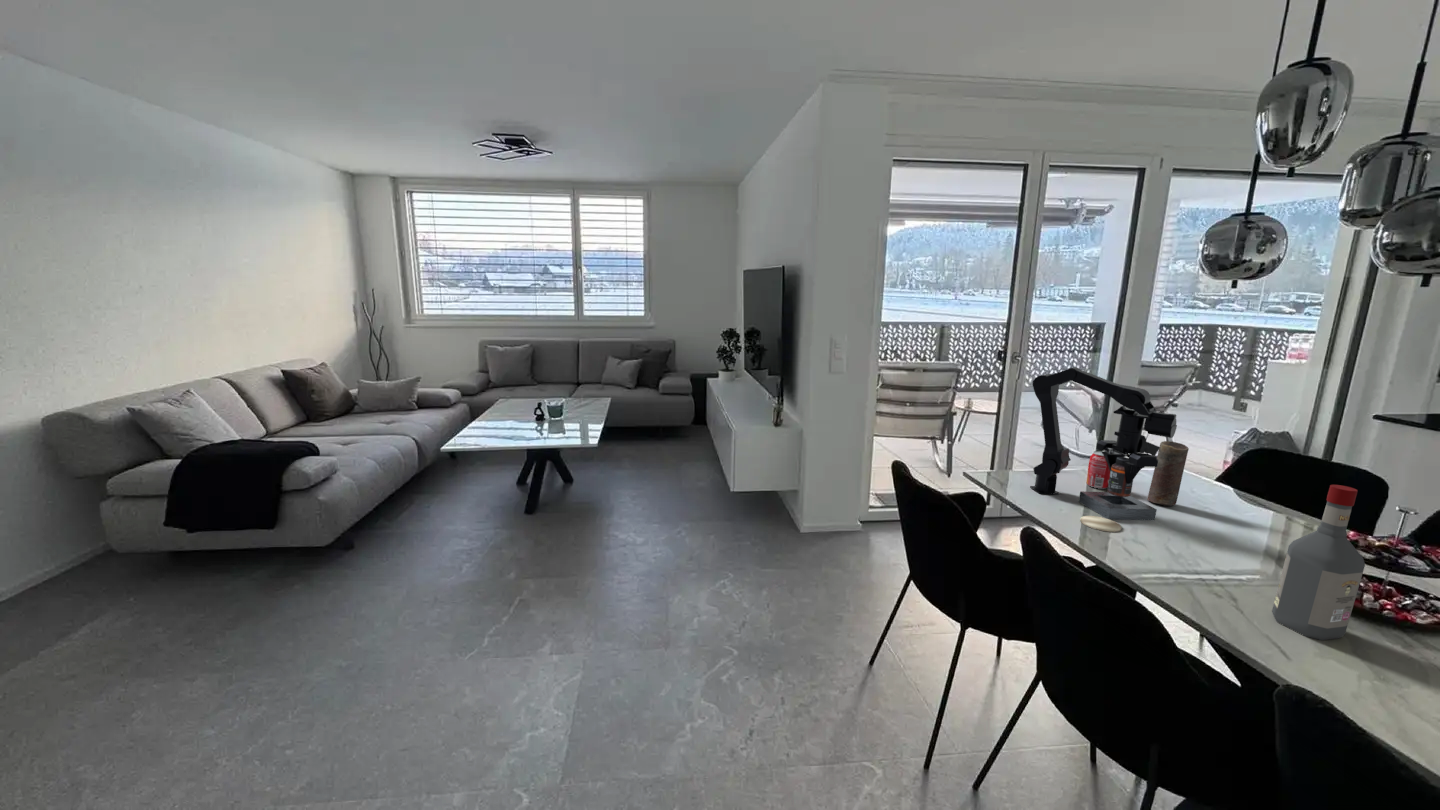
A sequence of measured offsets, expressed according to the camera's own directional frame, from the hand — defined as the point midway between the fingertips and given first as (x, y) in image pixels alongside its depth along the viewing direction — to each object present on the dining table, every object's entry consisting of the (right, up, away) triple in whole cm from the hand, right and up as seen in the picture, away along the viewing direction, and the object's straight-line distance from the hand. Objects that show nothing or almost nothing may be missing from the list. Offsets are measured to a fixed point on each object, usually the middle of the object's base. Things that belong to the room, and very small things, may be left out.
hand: (1121, 480), depth 174 cm
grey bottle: (-3, -23, -58) cm, 62 cm away
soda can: (+8, -6, +24) cm, 26 cm away
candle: (+20, -9, +9) cm, 24 cm away
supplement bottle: (0, -5, +1) cm, 5 cm away
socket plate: (0, -10, +2) cm, 10 cm away
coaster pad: (-12, -12, -9) cm, 19 cm away
